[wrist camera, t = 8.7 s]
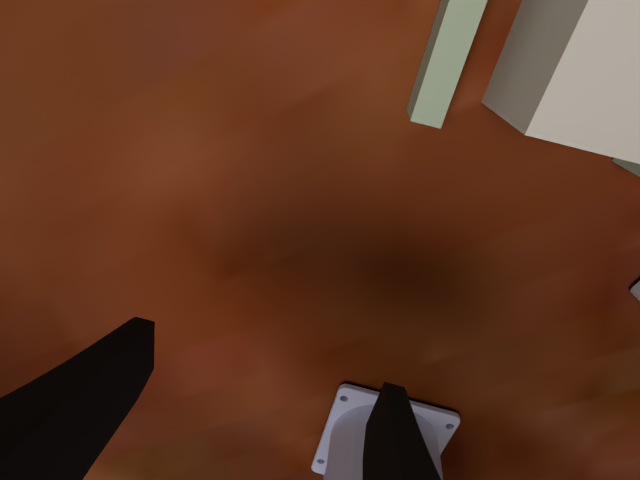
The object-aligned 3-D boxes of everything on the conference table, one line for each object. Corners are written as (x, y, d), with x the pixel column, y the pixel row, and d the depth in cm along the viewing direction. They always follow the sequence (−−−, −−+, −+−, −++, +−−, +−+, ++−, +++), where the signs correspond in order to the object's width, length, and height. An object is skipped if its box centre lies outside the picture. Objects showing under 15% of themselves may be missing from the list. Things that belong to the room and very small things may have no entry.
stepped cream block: (582, 127, 17) (672, 172, 12) (480, 101, 17) (524, 135, 12) (712, -112, 13) (933, -204, 8) (578, -144, 13) (710, -257, 8)
